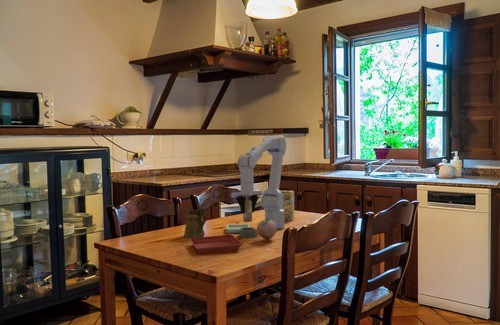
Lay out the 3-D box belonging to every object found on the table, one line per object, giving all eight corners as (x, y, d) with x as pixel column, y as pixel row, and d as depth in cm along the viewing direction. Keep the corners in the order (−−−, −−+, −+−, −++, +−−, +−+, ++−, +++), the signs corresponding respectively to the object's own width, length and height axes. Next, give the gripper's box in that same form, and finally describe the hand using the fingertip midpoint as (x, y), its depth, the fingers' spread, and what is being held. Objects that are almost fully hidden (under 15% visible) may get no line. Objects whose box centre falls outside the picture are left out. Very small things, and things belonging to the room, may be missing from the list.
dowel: (252, 220, 204) (251, 200, 204) (252, 222, 200) (251, 201, 200) (243, 220, 204) (242, 200, 204) (243, 222, 200) (242, 201, 200)
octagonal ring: (255, 233, 206) (255, 227, 206) (256, 237, 199) (256, 230, 199) (239, 234, 206) (239, 227, 206) (239, 237, 199) (239, 230, 199)
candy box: (276, 220, 240) (275, 191, 239) (278, 218, 244) (278, 190, 243) (292, 221, 237) (292, 191, 236) (294, 219, 241) (294, 190, 240)
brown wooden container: (205, 239, 196) (204, 198, 195) (180, 236, 202) (179, 196, 201) (216, 235, 203) (215, 195, 202) (192, 233, 210) (191, 194, 209)
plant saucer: (196, 256, 170) (196, 247, 170) (189, 245, 187) (189, 237, 187) (243, 252, 175) (243, 243, 175) (231, 242, 192) (231, 234, 192)
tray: (249, 228, 220) (249, 223, 219) (249, 233, 208) (249, 229, 207) (226, 228, 219) (226, 224, 219) (225, 233, 207) (225, 229, 207)
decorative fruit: (260, 237, 199) (260, 214, 198) (278, 238, 196) (278, 215, 196) (254, 242, 190) (253, 218, 189) (273, 243, 187) (273, 219, 187)
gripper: (257, 180, 208) (257, 210, 209) (228, 182, 202) (228, 212, 202) (264, 181, 202) (265, 212, 202) (234, 183, 195) (235, 215, 196)
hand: (247, 212), depth 202 cm, fingers closed on dowel, 4 cm apart
